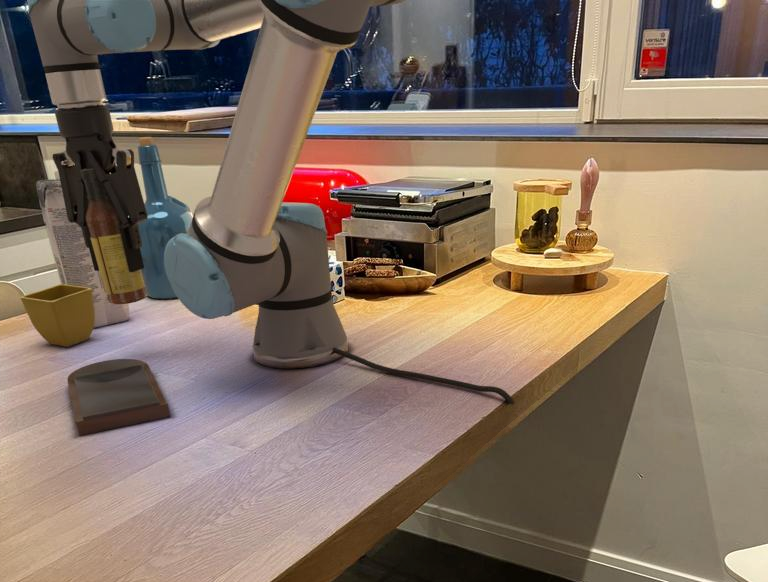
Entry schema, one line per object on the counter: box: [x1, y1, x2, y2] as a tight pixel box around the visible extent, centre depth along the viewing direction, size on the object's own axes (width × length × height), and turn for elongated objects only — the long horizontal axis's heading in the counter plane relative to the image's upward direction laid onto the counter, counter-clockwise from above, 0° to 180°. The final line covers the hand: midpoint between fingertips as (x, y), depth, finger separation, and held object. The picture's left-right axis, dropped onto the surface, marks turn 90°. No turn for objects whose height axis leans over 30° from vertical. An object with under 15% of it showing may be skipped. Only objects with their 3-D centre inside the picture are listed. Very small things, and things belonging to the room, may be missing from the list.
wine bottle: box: [137, 136, 194, 300], centre depth 160 cm, size 14×13×30 cm
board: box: [66, 358, 171, 437], centre depth 114 cm, size 24×12×2 cm, turn 23°
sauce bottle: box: [80, 168, 147, 304], centre depth 121 cm, size 7×6×20 cm
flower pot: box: [20, 283, 95, 348], centre depth 138 cm, size 9×9×9 cm
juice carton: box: [35, 170, 130, 329], centre depth 144 cm, size 9×10×27 cm
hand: (119, 269), depth 123 cm, fingers closed on sauce bottle, 6 cm apart
